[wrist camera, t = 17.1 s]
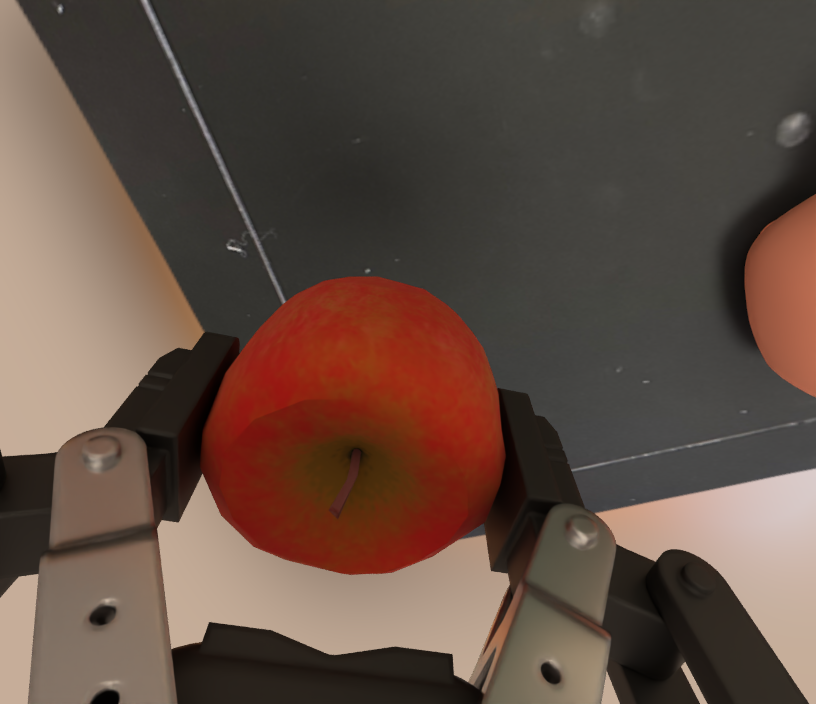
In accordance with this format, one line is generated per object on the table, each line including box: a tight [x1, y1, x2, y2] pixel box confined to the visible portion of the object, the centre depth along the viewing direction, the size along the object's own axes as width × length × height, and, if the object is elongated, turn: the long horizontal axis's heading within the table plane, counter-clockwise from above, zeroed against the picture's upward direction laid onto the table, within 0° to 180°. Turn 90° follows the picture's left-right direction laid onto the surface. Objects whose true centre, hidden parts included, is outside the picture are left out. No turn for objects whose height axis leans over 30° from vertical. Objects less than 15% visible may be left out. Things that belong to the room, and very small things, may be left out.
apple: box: [200, 277, 506, 575], centre depth 13 cm, size 6×6×8 cm
